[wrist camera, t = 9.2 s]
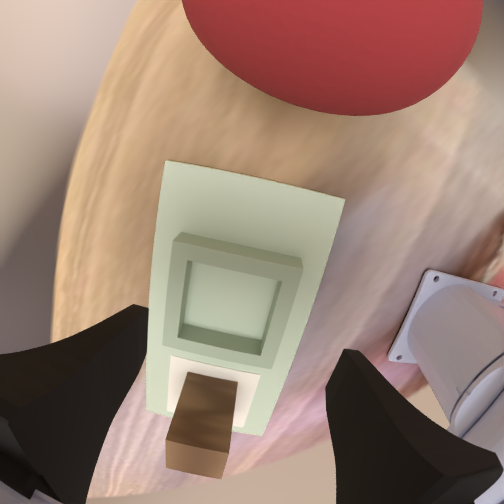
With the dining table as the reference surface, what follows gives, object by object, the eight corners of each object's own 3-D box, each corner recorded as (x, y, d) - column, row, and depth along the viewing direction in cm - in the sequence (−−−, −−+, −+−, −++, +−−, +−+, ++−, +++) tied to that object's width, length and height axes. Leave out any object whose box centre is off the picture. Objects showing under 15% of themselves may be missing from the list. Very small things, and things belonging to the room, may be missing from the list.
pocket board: (342, 198, 18) (352, 205, 16) (262, 431, 26) (261, 450, 24) (168, 159, 18) (155, 162, 16) (148, 406, 26) (140, 424, 23)
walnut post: (238, 381, 23) (228, 453, 16) (230, 412, 24) (221, 479, 18) (187, 371, 23) (165, 439, 16) (184, 403, 24) (166, 467, 17)
